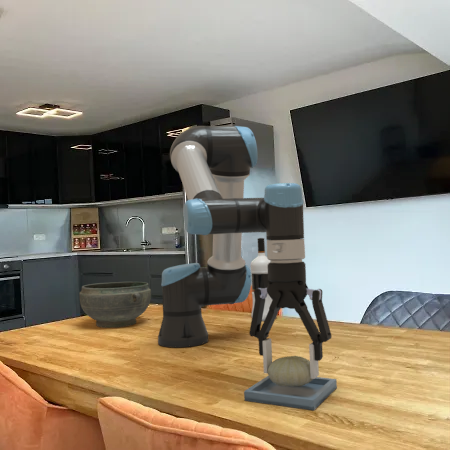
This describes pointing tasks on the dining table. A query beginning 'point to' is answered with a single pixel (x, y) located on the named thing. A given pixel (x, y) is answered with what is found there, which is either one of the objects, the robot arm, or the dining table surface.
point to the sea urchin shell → (290, 371)
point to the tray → (291, 393)
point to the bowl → (115, 302)
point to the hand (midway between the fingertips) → (290, 374)
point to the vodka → (260, 275)
